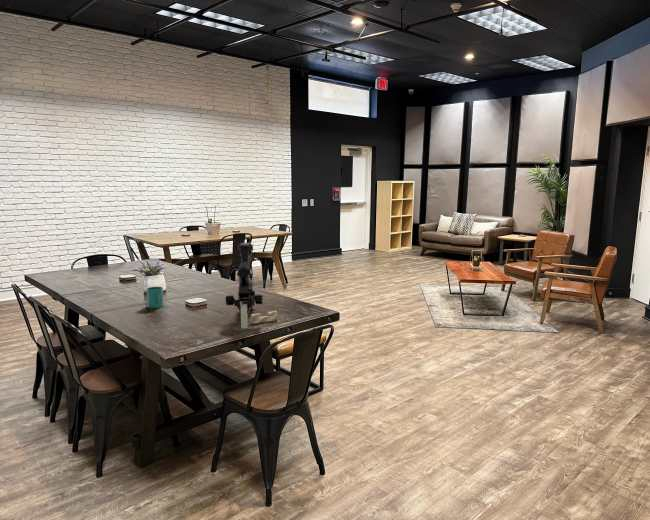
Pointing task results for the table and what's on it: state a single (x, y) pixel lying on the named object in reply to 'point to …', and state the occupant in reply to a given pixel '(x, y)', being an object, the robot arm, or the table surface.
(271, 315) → the birch rail
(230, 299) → the robot arm
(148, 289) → the cup
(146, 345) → the table surface
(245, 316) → the tall green pillar
